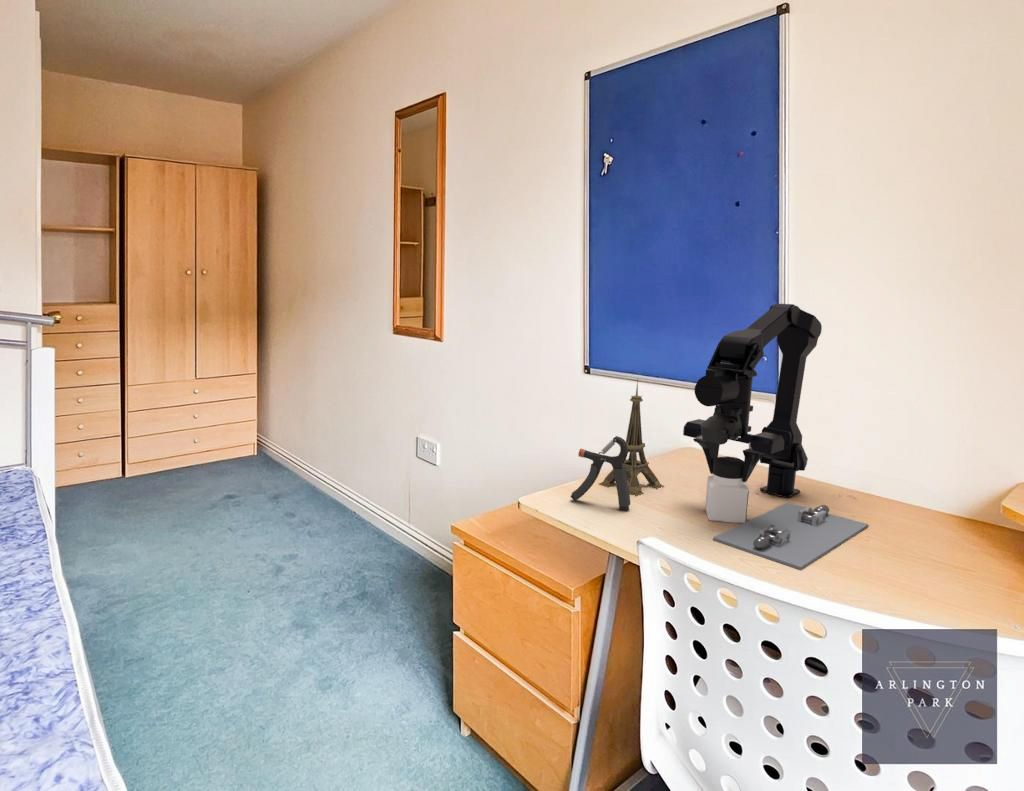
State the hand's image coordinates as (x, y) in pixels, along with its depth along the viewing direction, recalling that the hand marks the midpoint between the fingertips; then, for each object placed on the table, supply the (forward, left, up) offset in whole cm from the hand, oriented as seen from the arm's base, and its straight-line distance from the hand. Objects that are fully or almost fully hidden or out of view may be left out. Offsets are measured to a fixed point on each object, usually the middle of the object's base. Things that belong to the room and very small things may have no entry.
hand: (728, 477), depth 129 cm
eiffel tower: (-1, -24, -8) cm, 25 cm away
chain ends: (-2, +13, -8) cm, 15 cm away
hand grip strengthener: (+15, -20, -8) cm, 26 cm away
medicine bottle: (0, 0, -8) cm, 8 cm away
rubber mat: (-2, +13, -8) cm, 15 cm away
